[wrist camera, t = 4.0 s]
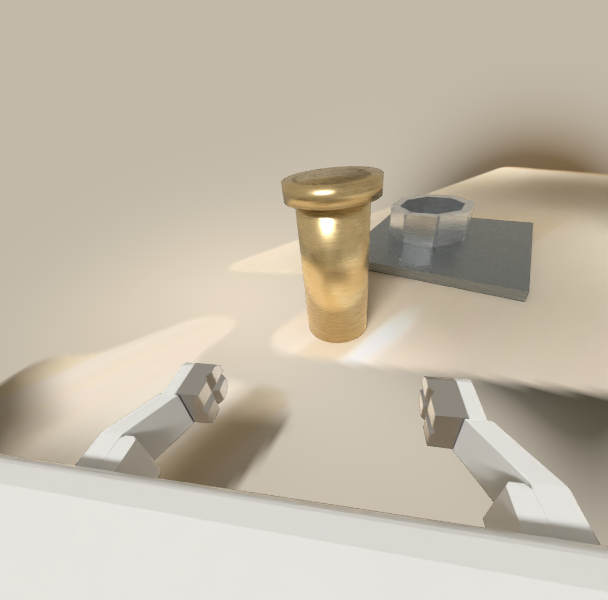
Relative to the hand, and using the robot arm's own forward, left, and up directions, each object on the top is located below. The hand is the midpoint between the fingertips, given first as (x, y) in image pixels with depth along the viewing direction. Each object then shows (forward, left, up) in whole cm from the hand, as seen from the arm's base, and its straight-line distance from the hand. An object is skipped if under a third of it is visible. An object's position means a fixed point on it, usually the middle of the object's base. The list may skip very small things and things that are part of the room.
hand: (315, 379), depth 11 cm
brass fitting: (+5, -10, -7) cm, 13 cm away
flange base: (+1, -29, -7) cm, 30 cm away
